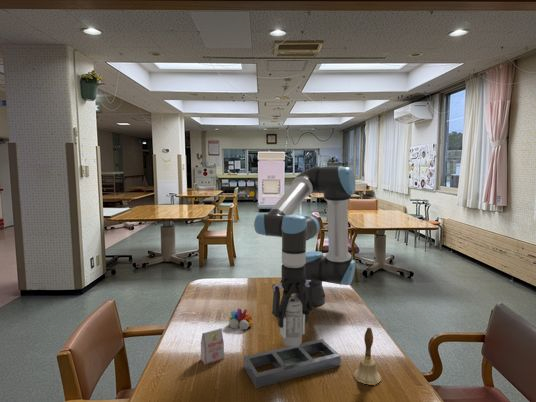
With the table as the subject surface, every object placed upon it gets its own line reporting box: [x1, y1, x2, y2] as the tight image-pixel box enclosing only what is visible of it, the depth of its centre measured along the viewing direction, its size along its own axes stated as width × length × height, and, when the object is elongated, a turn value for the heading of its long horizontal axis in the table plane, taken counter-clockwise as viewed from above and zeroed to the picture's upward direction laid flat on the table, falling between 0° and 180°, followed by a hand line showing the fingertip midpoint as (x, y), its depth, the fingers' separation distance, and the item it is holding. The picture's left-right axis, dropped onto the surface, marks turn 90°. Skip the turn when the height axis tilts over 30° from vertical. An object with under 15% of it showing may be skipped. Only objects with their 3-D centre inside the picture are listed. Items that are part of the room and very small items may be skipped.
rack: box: [242, 338, 342, 389], centre depth 112 cm, size 30×12×4 cm, turn 113°
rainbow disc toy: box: [228, 307, 254, 331], centre depth 139 cm, size 8×10×7 cm
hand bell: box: [353, 326, 382, 385], centre depth 106 cm, size 8×8×16 cm
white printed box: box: [200, 328, 225, 366], centre depth 115 cm, size 4×7×10 cm, turn 121°
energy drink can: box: [282, 295, 303, 348], centre depth 110 cm, size 6×6×15 cm
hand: (292, 334), depth 111 cm, fingers closed on energy drink can, 6 cm apart
